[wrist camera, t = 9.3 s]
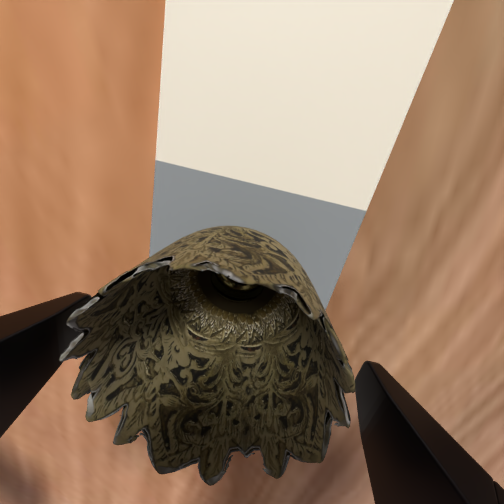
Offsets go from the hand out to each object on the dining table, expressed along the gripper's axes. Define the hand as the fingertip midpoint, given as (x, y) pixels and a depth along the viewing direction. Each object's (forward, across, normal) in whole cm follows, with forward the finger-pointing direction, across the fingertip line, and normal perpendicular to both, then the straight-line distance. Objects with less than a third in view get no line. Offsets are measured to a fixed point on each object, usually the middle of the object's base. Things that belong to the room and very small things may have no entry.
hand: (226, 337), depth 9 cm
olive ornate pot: (+6, 0, 0) cm, 6 cm away
